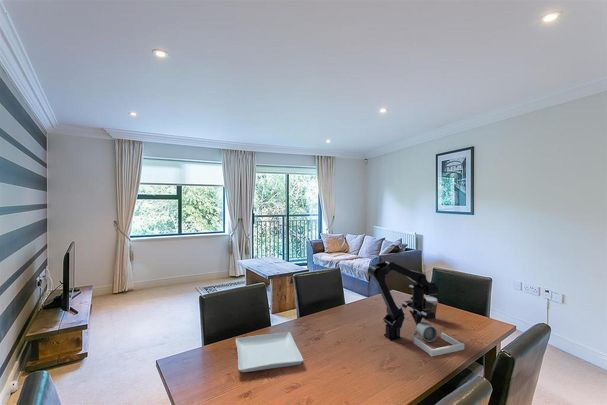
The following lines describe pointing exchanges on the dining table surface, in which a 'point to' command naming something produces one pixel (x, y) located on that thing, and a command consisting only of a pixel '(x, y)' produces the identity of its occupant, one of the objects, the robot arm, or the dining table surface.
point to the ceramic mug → (425, 332)
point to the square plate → (267, 352)
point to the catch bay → (443, 350)
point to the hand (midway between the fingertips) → (417, 325)
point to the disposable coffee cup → (435, 302)
